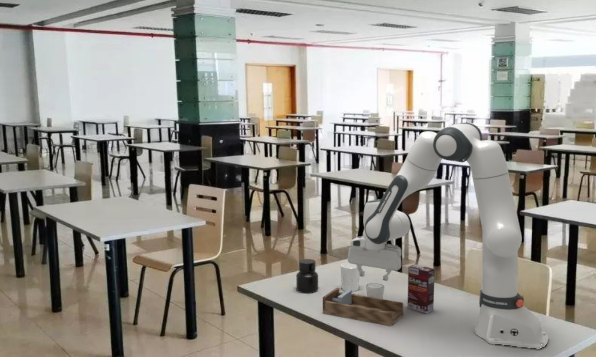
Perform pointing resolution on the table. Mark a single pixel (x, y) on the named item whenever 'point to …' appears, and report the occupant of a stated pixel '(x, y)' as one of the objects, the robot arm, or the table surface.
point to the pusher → (344, 298)
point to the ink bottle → (307, 276)
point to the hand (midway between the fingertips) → (373, 278)
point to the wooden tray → (364, 308)
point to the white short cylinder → (375, 290)
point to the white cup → (349, 277)
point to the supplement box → (421, 288)
